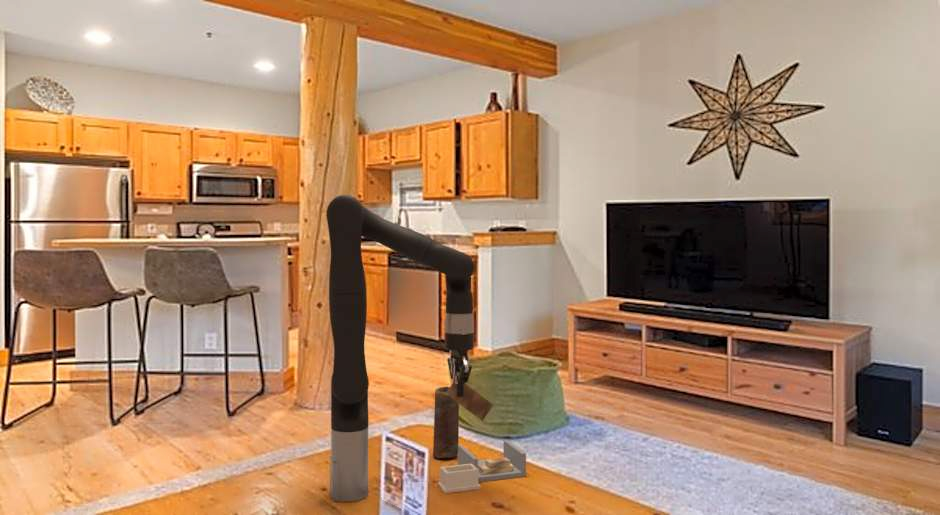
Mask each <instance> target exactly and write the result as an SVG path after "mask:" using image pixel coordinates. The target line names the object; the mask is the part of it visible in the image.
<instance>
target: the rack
mask: <svg viewBox="0 0 940 515" xmlns="http://www.w3.org/2000/svg"><path fill="white" fill-rule="evenodd" d="M503 457H506V458H507V459H509V460H510V463H511V464H512V465H513V466H514V471H512V472H504V473H495V474H487V475H482V474H481V473H480V472H479V471H478V483H483V482H491V481H499V480H506V479H507V480H508V479H514V478H522V477H523V478H524V477H527V453H526V452H525V451H524V450H522V449H521V448H520V447H518V446H517V445H515V444H513V443H512V442H511V441H509V440H508V439H503ZM503 457H502V458H503ZM489 459H490V458H489ZM489 459H488V458H487V459H482V460H481V459H480V460H479V458H478V457H476V456H475V455H474V454H473V453H472V452H471V451H470V450H469V449H467V447H465V445H463V444H458V454H457V465H463V464H471V463H472V464H473V465H474V466H475V467H476V468H477V469H478V466H482V465H486V460H489Z"/></svg>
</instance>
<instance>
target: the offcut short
mask: <svg viewBox="0 0 940 515" xmlns="http://www.w3.org/2000/svg"><path fill="white" fill-rule="evenodd" d="M485 460H486V466H487V467H488V468H490V469H491V468H498V467H505V466H510V460H509V459H507V458H506V457H497V458H496V457H495V458H489V460H487V459H485Z"/></svg>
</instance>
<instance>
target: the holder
mask: <svg viewBox="0 0 940 515" xmlns="http://www.w3.org/2000/svg"><path fill="white" fill-rule="evenodd" d="M439 469H440V470H439V472H440V474H439V476H440V478H439V481H438V482H437V486H438V487H439V488H440V490H441V491H442V492H443V493H444V494H450V493H451V494H452V493H457V492H458V493H459V492H465V491H466V492H467V491H474V490H481V488H482V486H481V484H480V482H478V469H477V468H476V467H475V466H474V465H473V464H472V463H471V464H463V465H458V464H457V465H448V466H447V465H446V466H440V467H439Z"/></svg>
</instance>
